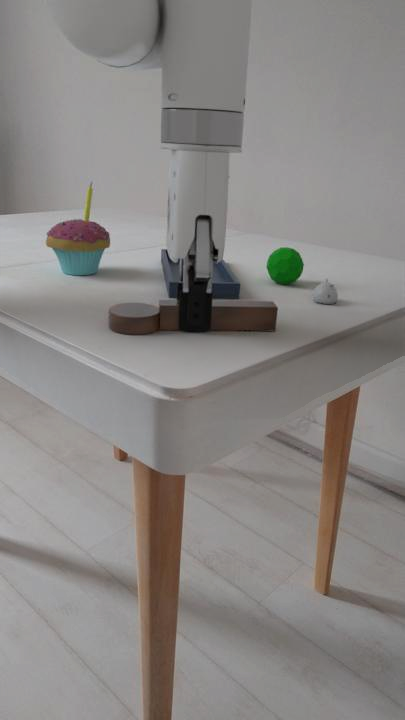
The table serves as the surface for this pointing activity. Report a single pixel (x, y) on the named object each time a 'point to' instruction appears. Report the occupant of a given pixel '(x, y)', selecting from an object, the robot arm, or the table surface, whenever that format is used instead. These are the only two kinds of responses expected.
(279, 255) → the polyhedron
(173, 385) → the table surface
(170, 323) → the disc-ended wooden bar
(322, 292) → the white bumpy lump
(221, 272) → the tray
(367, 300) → the table surface
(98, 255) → the cupcake
